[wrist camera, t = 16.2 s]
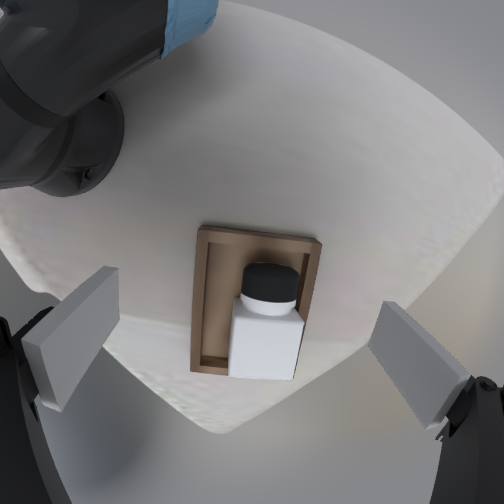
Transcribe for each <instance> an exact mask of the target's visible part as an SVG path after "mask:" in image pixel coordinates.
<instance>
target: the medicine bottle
mask: <svg viewBox="0 0 504 504" xmlns="http://www.w3.org/2000/svg"><path fill="white" fill-rule="evenodd" d="M299 279H300V275H299V273H298V272H297V271H296V270H294V269H293V268H291V267H289V266H286V265H281V264H276V263H267V262H254V263H251V264H248V265H246V266H245V267H244V270H243V278H242V287H241V295H240V298H238V297H236V298H235V299H234V302H233V311H232V320H231V330H230V339H229V354H228V375H229V376H230V377H235V378H248V379H266V380H293V378H294V374H295V370H296V365H297V360H298V355H299V350H300V346H301V340H302V335H303V330H304V321H303V320H302V318H301V317H300V315H299V314H298V312H297V311H296V309H295V308H294V307H295V304H296V298H297V291H298V285H299Z"/></svg>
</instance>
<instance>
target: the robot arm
mask: <svg viewBox="0 0 504 504" xmlns="http://www.w3.org/2000/svg"><path fill="white" fill-rule="evenodd" d="M0 8H1V9H2V10H3V12H4V15H3V16H2V17H1V19H0V189H6V188H14V187H22V186H31V187H34V188H36V189H38V190H40V191H42V192H44V193H46V194H49V195H52V196H57V197H67V196H74V195H79V194H82V193H84V192H86V191H88V190H90V189H92V188H93V187H95V186H96V185H97V184H98V183H99V182H100V181H101V180H102V179H103V178H104V177H105V176H106V175H107V173H108V172H109V171H110V169H111V168H112V166H113V164H114V162H115V160H116V158H117V156H118V154H119V151H120V148H121V144H122V140H123V133H124V119H123V113H122V109H121V106H120V104H119V102H118V100H117V98H116V97H115V95H114V94H113V93H112V92H111V91H110V90H109V89H110V88H111V87H113V86H114V85H115V84H117V83H118V82H120V81H122V80H123V79H125V78H126V77H128V76H129V75H131V74H133V73H134V72H136V71H138V70H139V69H141V68H143V67H144V66H146V65H148V64H150V63H152V62H153V61H155V60H157V59H163V58H165V57H166V56H167V55H168V53H169V52H171V51H172V50H174V49H176V48H177V47H179V46H181V45H182V44H184V43H186V42H188V41H190V40H192V39H194V38H196V37H198V36H200V35H201V34H203V33H204V32H205V31H206V30H207V29H208V28H209V27H210V26H211V24H212V23H213V21H214V18H215V16H216V11H217V8H218V0H0ZM119 320H120V316H119V289H118V268H114V267H108V266H103V267H102V268H101V269H100V270H98V271H97V272H96V273H95V274H93V275H92V276H91V277H90V278H89V279H87V280H86V281H85V282H84V283H83V284H81V285H80V286H79V287H78V288H77V289H75V290H74V291H73V292H72V293H71V294H70V295H68V296H67V297H66V298H65V299H64V300H63V301H62V302H60V303H59V304H58V305H57V306H56V307H49V308H46V309H44V310H42V311H40V312H39V313H38V314H37V315H36V316H34V318H33V319H31V320H30V321H29V322H28V324H26V325H24V326H23V327H22V328H21V329H20V330H19V331H18V332H17V333H16V334H15V335H14V336H11V333H10V329H9V325H8V322H7V320H6V319H5V318H3V317H0V504H72V503H71V501H70V499H69V496H68V494H67V492H66V490H65V488H64V486H63V483H62V481H61V479H60V477H59V474H58V472H57V469H56V467H55V464H54V461H53V459H52V456H51V453H50V450H49V448H48V444H47V441H46V438H45V435H44V432H43V429H42V425H41V422H40V418H39V414H38V411H37V407H36V404H35V402H34V399H35V397H36V396H37V395H38V393H39V395H40V398H41V400H42V402H43V405H45V406H47V407H50V408H52V409H54V410H57V411H59V412H62V410H63V408H64V406H65V405H66V403H67V401H68V399H69V398H70V396H71V395H72V393H73V391H74V390H75V388H76V386H77V385H78V383H79V381H80V380H81V378H82V377H83V375H84V373H85V372H86V370H87V368H88V367H89V365H90V363H91V362H92V361H93V359H94V358H95V356H96V354H97V353H98V351H99V350H100V348H101V347H102V345H103V344H104V342H105V341H106V339H107V338H108V336H109V335H110V333H111V332H112V330H113V329H114V327H115V326H116V325H117V323H118V322H119ZM368 347H369V349H370V350H371V351H372V353H373V354H374V355H375V357H376V358H377V360H378V361H379V363H380V364H381V366H382V367H383V368H384V370H385V371H386V373H387V374H388V376H389V377H390V378H391V380H392V381H393V383H394V384H395V386H396V387H397V389H398V390H399V391H400V393H401V394H402V396H403V397H404V399H405V400H406V402H407V403H408V405H409V406H410V407H411V409H412V411H413V412H414V414H415V415H416V417H417V418H418V420H419V421H420V423H421V424H422V425H423V427H424V429H425V430H427V429H431V428H434V427H437V426H438V425H439V424H440V423H441V421H442V420H443V419H444V417H445V416H446V417H447V418H448V419H449V421H448V422H447V423H446V425H445V426H444V427H443V429H442V430H441V431H440V433H439V434H438V435H437V437H436V440H438V439H439V437H440V436H443V438H442V439H441V440H440V441H441V442H442V449H441V455H440V460H439V466H438V471H437V475H436V480H435V484H434V488H433V492H432V496H431V500H430V504H504V385H503V387H502V388H498V387H497V385H496V383H494V382H493V381H492V380H491V379H489V378H486V377H482V376H480V377H477V378H476V379H475V378H474V377H473V376H472V375H471V373H470V372H469V371H468V370H467V369H466V368H465V367H464V366H463V365H462V364H461V363H460V362H459V361H457V359H456V358H455V357H454V356H452V354H451V353H450V352H449V351H448V350H446V349H445V348H444V347H443V346H442V345H441V344H440V343H439V342H438V341H437V340H436V339H435V338H434V337H433V336H432V335H431V334H430V333H428V332H427V331H426V330H425V329H424V328H423V327H422V326H421V325H420V324H419V323H418V322H417V321H416V320H414V319H413V318H412V317H411V316H410V315H409V314H408V313H407V312H406V311H405V310H403V309H402V308H401V307H400V306H399V305H398V304H397V303H396V302H389V301H383V304H382V307H381V310H380V313H379V316H378V319H377V322H376V324H375V327H374V330H373V333H372V335H371V338H370V340H369V343H368Z"/></svg>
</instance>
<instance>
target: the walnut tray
mask: <svg viewBox="0 0 504 504" xmlns="http://www.w3.org/2000/svg"><path fill="white" fill-rule="evenodd" d="M321 248H322V244H321V243H320V242H319V241H317V240H316V239H314V238H306V237H298V236H290V235H282V234H274V233H266V232H257V231H249V230H240V229H231V228H222V227H213V226H204V225H201V226H200V228H199V229H198V235H197V247H196V259H195V273H194V288H193V306H192V328H191V359H190V371H191V372H199V373H207V374H216V375H226V376H229V375H228V354H229V339H230V330H231V320H232V311H233V302H234V299H235V298H236V297H238V298H240V295H241V287H242V278H243V270H244V267H245V266H246V265H248V264H251V263H254V262H267V263H276V264H281V265H286V266H289V267H291V268H293V269H294V270H296V271H297V272H298V273H299V275H300V279H299V285H298V291H297V298H296V304H295V307H294V308H295V309H296V311H297V312H298V314H299V315H300V317H301V318H302V320H303V321H304V330H305V326H306V321H307V317H308V313H309V308H310V304H311V299H312V294H313V289H314V285H315V280H316V275H317V270H318V264H319V259H320V254H321ZM304 330H303V334H304ZM302 338H303V335H302ZM301 343H302V340H301ZM300 347H301V346H300ZM299 351H300V350H299Z"/></svg>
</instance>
